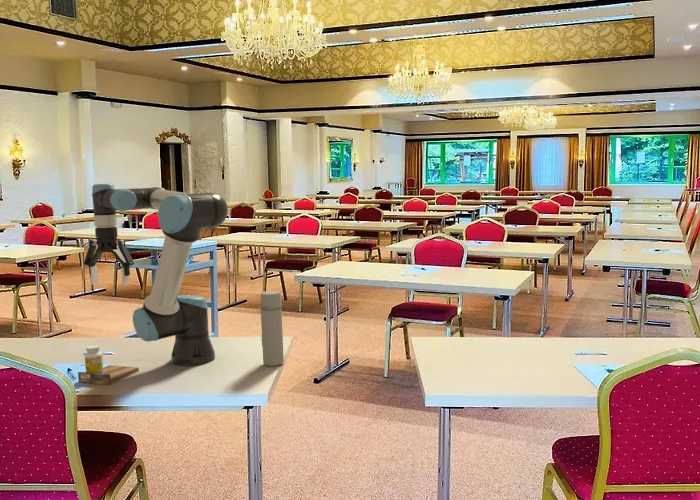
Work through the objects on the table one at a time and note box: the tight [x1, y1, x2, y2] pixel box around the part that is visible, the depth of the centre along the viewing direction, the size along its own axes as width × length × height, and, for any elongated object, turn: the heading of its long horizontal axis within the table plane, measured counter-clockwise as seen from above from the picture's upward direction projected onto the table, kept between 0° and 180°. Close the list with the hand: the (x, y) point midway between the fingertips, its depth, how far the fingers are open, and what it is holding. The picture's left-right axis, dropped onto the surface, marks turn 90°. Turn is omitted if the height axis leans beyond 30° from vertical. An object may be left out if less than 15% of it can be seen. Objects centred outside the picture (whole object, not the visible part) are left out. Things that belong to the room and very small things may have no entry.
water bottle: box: [258, 290, 285, 367], centre depth 225 cm, size 9×8×25 cm
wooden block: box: [77, 364, 139, 386], centre depth 217 cm, size 12×15×3 cm
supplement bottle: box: [84, 344, 104, 374], centre depth 214 cm, size 5×5×10 cm
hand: (110, 284), depth 239 cm, fingers open, 13 cm apart
